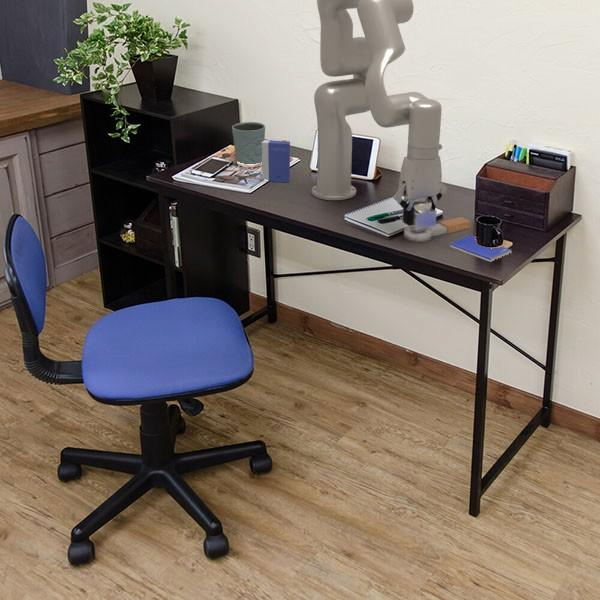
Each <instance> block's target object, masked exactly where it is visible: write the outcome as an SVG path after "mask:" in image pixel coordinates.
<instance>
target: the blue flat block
mask: <svg viewBox="0 0 600 600" xmlns="http://www.w3.org/2000/svg"><path fill="white" fill-rule="evenodd" d="M476 237H477V236H474V235H468V236H465V237H463V238H461V239H458V240H455V241H452V242H450V246H449V247H450V248H453V249H455V250H457V251H459V252H463V253H466V254H469V255H471V256H473V257H476V258H479V259H481V260H483V261H487V262H490V263H491V262H494V261H496V260H499V259H501V258H503V257H505V255H506V256H508V255H510V254H512V251H513V250H512V249H511V248H507V247H504V246H502V247H500V248H492V249H491V248H490V247H485V246H481V245H479V244H477V243H476V240H475V239H476ZM509 253H510V254H509ZM502 256H503V257H502ZM498 258H499V259H498ZM495 259H496V260H495Z"/></svg>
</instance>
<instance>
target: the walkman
mask: <svg viewBox="0 0 600 600" xmlns="http://www.w3.org/2000/svg"><path fill="white" fill-rule="evenodd" d="M261 172H262V175H261V177H262V179H266V180H268V181H267V182H273V183H289V182H290V181H291V141H289V140H288V141H287V139H282V140H274V139H273V140H272V139H271V140H270V139H269V140H268V139H264V141H263V142H262V166H261ZM262 179H261V180H262Z"/></svg>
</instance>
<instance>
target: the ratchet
mask: <svg viewBox="0 0 600 600" xmlns="http://www.w3.org/2000/svg"><path fill="white" fill-rule="evenodd" d="M470 226H471V221H470V220H468V219H466V217H465V218H464V217H463V216H459V217H455V218H450V219H445V220H442V221H439V223H436V226H431V227H427V228H422V229H418V230H415V229H413V228H412V227H410V226H408V225H406V226H405V227H404V228H403V229H404V230H403V238H404V239H405V240H406V241H410V242H413V243H425V242H429V241H431V240H432V239H433V237H435V236H441V235H445V234H451V233H456V232H460V231H465V230H470V228H471V227H470Z"/></svg>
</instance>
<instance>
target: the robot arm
mask: <svg viewBox="0 0 600 600" xmlns="http://www.w3.org/2000/svg"><path fill="white" fill-rule="evenodd" d="M316 4H317V6H316V7H317V11H318V14H319V16H318V17H319V21H320V33H319V34H320V40H319V41H320V42H319V43H320V48H319V49H320V53H319V55H320V56H319V57H320V62H319V63H320V69H321V71H322V73H323V74H324V75H326V76H328V77H333V78H334V77H344V76H352V78H347V79H339V80H333V81H327V82H325V83H322V84H320V85H319V86H318V87H317V88H316V90H315V91H314V95H313V100H314V108H315V109H314V110H315V114H316V121H317V122H316V123H317V164H316V165H317V168H316V170H317V172H316V173H315V174H314V175H313V178H314V179H315V180H316V185H314V186H313V187H312V188H311V194H312V195H313V197H315V198H318V199H321V200H325V201H343V200H347V199H348V200H349V199H352V198H353V197H355V196H356V194H357V188H356V187H355V186H353V185H352V159H353V158H352V157H353V155H352V153H353V130H352V128H351V125H350V124H349V123H348V122H347V119H346V117H347V116H350V115H351V116H352V115H358V114H362V113H368V112H370V113H371V116H372V119H373V120H374V122H375V123H376V124H377V125H378V126H379V127H381V128H395V127H398V126H399V127H400V126H406V125H407V126H408V131H407V132H408V135H407V148H406V149H407V153H406V154H407V156H405V157H403V160H402V163H401V168H400V174H399V180H398V189H397V191H396V192H395V193H394V195H392V197H393V200H395V202H397V204H398V205H399V206H400V207H401V209H402V212H403V222H404V223H406V224H407V225H406V224H405V225H406V226H408V225H409V226H411V225H412V221H413V210H411V209H412V206H413V203H414V201H415V199H419V198H428V199H430V200H431V201H432V209H435V210H436V208H437V207H436V206H438V204H439V201H440V200H441V198H442V197H443V195H444V194H445V193H446V192H447V190H448V188H447V186H446V185H445V184H444V183H443V182H442V181H443V180H442V176H443V175H442V161H441V156H440V154H439V151H440V150H442V149H443V146H442V144H441V143H440V141H441V140H440V138H441V137H440V136H441V123H442V110H443V109H442V104H441V103H440V102H439V101H437V100H436V99H435V100H434V99H429V98H428V97H427V96H425V95H424V94H423V93H421V92H417V91H409V92H403V93H397V94H396V93H395V94H391V95H388V93H387V90H386V87H385V84H384V75H385V72H386V68H387V66H389V64H391V63H393V62H394V61H396V60H397V59H398V58H400V57H401V56H402V55H403V54H404V52H405V50H406V47H405V43H404V41H403V38H402V34H401V31H400V27H399V24H405V23H408V22H409V21H410V20H411V18H412V17H413V15H414V2H413V0H316ZM349 9H350V10H351V9H352V10H353V9H356V10H357V15H358V19H359V21H360V25H361V28H362V31H363V35H364V36H357V37H354V35H353V34H354V23H353V20H352V17H351V15H350V13H349V11H348V10H349ZM403 196H404V197H403ZM408 200H409V202H408ZM403 222H402V223H403ZM404 223H403V224H404Z"/></svg>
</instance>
